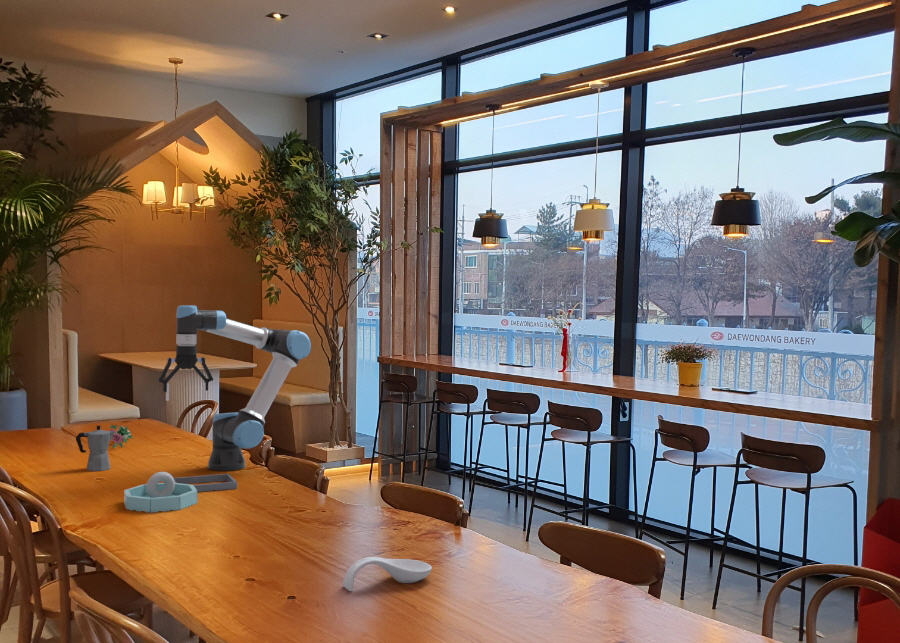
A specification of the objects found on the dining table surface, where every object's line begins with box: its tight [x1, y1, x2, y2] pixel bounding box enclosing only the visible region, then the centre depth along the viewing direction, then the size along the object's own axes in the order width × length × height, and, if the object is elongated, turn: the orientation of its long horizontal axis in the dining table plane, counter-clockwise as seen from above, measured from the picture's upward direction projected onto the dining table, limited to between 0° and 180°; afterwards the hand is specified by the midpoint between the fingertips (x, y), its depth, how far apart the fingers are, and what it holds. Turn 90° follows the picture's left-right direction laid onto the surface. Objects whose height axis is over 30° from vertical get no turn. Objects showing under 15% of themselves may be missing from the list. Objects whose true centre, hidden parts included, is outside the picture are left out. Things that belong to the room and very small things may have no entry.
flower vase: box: [108, 423, 133, 449], centre depth 394 cm, size 12×12×35 cm
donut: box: [145, 471, 175, 498], centre depth 288 cm, size 10×3×10 cm, turn 131°
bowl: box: [123, 482, 198, 513], centre depth 288 cm, size 23×23×4 cm
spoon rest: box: [342, 556, 433, 592], centre depth 213 cm, size 24×12×7 cm, turn 121°
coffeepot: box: [75, 425, 116, 472], centre depth 340 cm, size 15×9×18 cm, turn 129°
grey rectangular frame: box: [173, 473, 238, 493], centre depth 314 cm, size 22×16×2 cm
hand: (185, 399), depth 322 cm, fingers open, 13 cm apart
